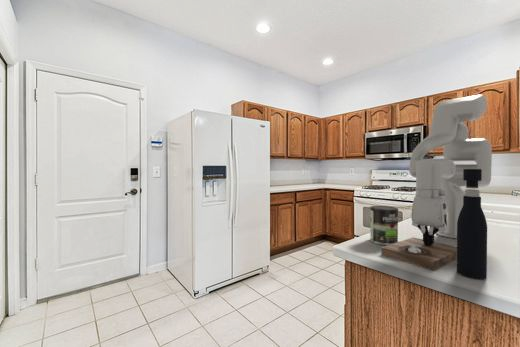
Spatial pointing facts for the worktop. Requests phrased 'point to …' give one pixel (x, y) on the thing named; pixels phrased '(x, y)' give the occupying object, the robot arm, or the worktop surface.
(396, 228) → the coffee can
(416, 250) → the ball
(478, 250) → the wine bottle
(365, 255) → the worktop surface
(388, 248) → the board
